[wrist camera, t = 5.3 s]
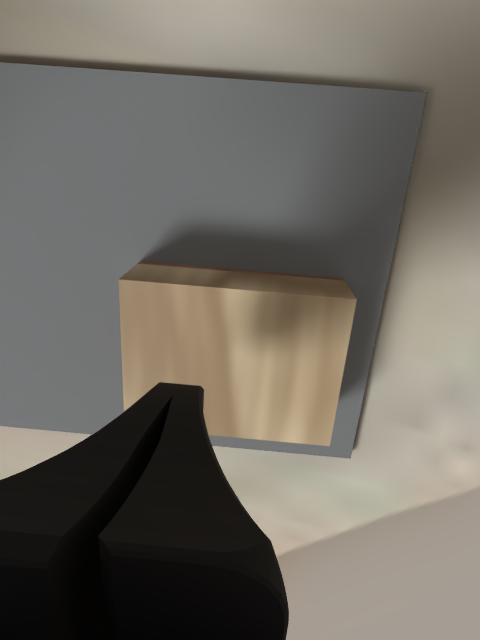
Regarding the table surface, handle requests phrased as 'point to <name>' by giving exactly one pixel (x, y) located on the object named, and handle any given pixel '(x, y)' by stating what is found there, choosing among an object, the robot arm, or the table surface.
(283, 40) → the table surface
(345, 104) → the rubber mat
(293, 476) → the table surface
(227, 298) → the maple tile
